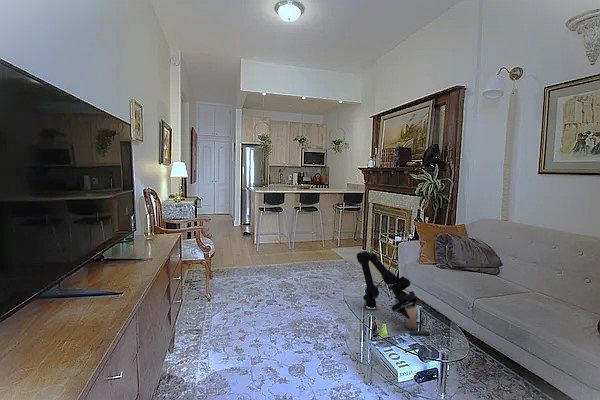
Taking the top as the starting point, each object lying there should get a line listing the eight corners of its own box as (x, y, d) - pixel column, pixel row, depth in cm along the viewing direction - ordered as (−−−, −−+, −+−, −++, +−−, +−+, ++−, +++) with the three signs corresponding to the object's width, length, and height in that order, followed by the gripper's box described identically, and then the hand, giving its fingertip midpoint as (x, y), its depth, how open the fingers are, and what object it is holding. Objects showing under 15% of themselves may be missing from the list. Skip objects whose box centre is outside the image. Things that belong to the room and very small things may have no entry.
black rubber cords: (410, 335, 191) (410, 332, 191) (404, 321, 206) (404, 318, 206) (430, 335, 190) (430, 332, 190) (422, 321, 205) (422, 318, 205)
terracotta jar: (408, 329, 195) (408, 310, 193) (403, 324, 201) (404, 305, 199) (417, 328, 196) (418, 309, 194) (413, 322, 202) (413, 304, 200)
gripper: (395, 292, 193) (409, 317, 186) (416, 284, 202) (431, 307, 195) (385, 299, 201) (398, 323, 194) (406, 291, 210) (420, 314, 203)
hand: (412, 317), depth 196 cm, fingers closed on terracotta jar, 6 cm apart
